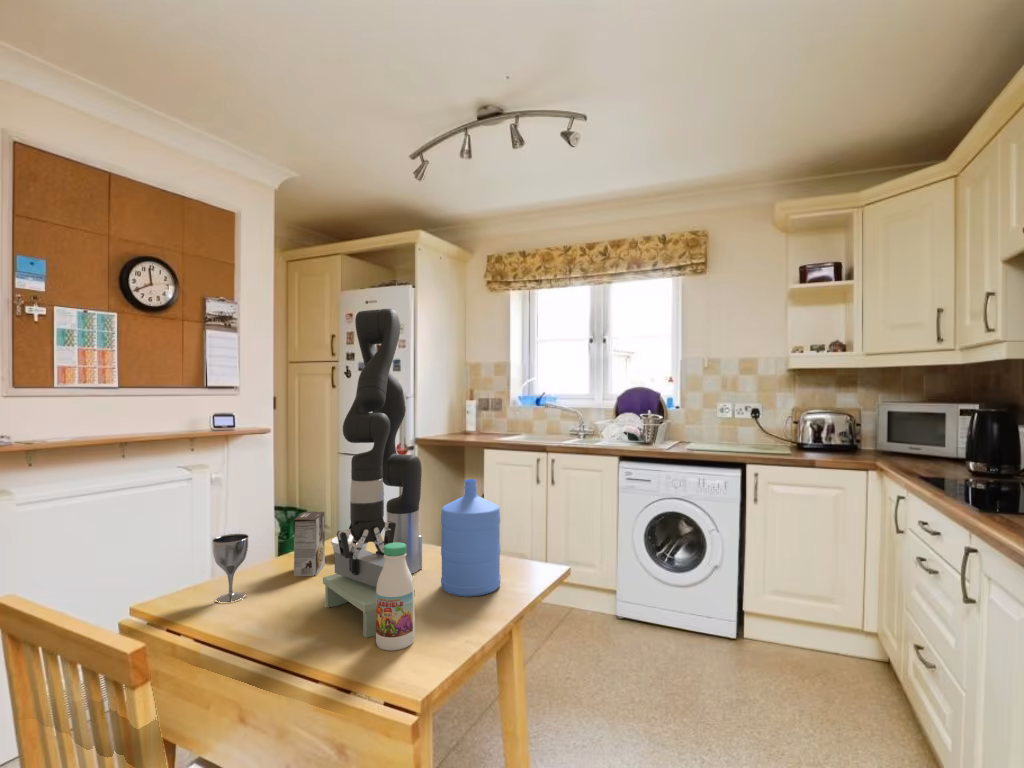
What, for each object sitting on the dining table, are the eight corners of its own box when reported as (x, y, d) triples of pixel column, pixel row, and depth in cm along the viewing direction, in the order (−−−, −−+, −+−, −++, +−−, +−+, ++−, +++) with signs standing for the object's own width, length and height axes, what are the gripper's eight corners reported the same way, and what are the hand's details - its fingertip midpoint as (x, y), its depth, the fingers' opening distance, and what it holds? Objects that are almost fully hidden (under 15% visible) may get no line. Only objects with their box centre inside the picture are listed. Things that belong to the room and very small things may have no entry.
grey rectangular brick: (352, 567, 127) (352, 546, 127) (401, 583, 116) (401, 560, 116) (334, 572, 123) (334, 552, 123) (383, 590, 112) (383, 567, 112)
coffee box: (303, 565, 152) (303, 511, 152) (325, 565, 153) (325, 510, 153) (292, 577, 143) (292, 519, 143) (316, 576, 144) (316, 518, 144)
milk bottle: (379, 634, 109) (379, 540, 109) (416, 632, 110) (415, 538, 110) (372, 652, 101) (372, 551, 102) (412, 651, 102) (412, 550, 102)
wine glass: (232, 605, 124) (232, 543, 124) (204, 603, 126) (204, 541, 126) (255, 593, 132) (255, 534, 132) (228, 590, 133) (228, 532, 134)
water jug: (508, 593, 131) (508, 483, 131) (448, 601, 126) (448, 487, 126) (490, 572, 146) (489, 474, 146) (435, 580, 140) (435, 477, 141)
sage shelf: (369, 593, 131) (369, 565, 131) (414, 621, 115) (414, 590, 115) (322, 606, 123) (322, 577, 123) (364, 639, 107) (364, 605, 107)
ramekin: (324, 559, 158) (324, 542, 158) (342, 548, 169) (342, 532, 169) (358, 561, 156) (358, 544, 156) (374, 550, 167) (374, 534, 167)
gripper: (387, 491, 127) (387, 560, 127) (330, 500, 117) (330, 574, 117) (402, 496, 121) (402, 567, 121) (344, 505, 112) (344, 583, 112)
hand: (367, 570), depth 119 cm, fingers closed on grey rectangular brick, 5 cm apart
